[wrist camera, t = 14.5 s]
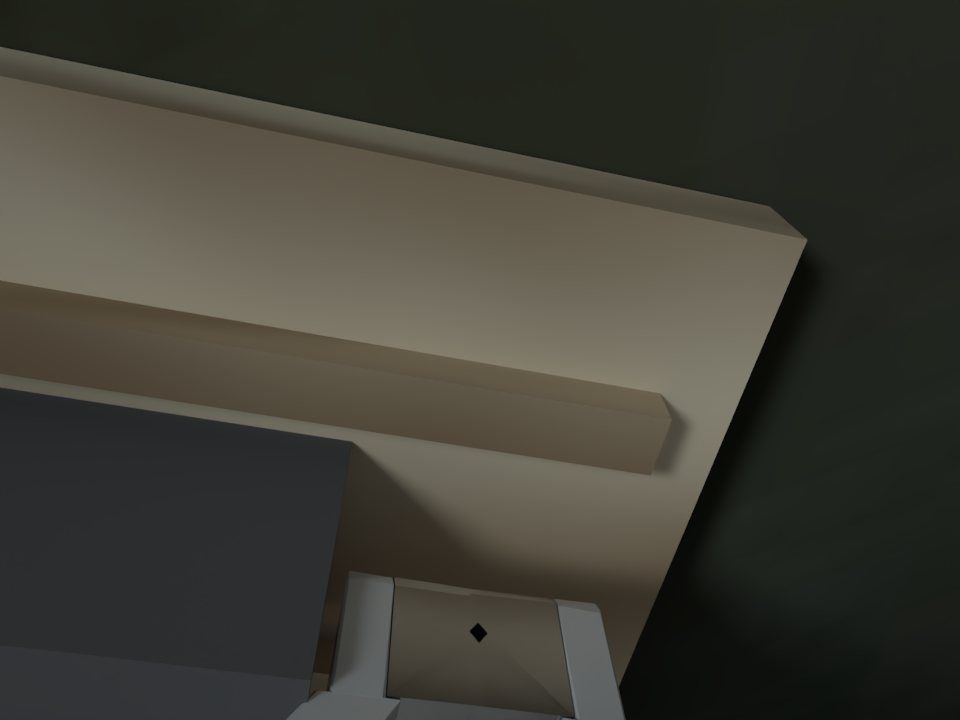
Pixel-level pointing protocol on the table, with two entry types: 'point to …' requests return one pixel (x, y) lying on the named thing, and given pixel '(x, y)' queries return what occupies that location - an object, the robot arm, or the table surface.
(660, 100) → the table surface
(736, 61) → the table surface
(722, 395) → the board
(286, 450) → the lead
